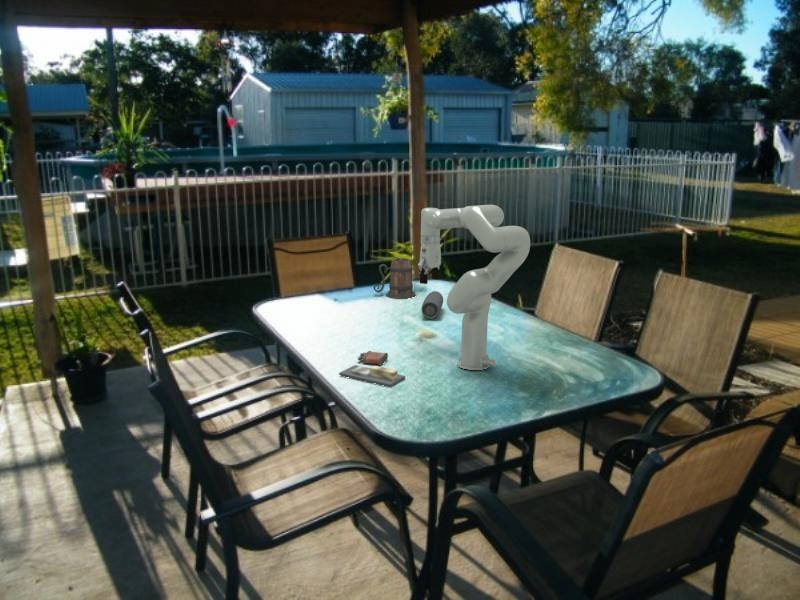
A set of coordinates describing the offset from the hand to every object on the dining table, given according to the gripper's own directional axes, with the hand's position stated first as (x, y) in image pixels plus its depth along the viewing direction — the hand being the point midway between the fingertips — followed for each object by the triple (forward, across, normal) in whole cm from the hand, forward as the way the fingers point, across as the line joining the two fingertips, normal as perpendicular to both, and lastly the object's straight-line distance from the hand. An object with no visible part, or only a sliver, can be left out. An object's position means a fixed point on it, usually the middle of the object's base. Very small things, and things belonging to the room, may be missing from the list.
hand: (429, 281), depth 270 cm
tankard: (+29, +71, +59) cm, 97 cm away
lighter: (+27, -25, +5) cm, 37 cm away
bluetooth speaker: (+29, +47, +23) cm, 60 cm away
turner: (+27, -41, -1) cm, 49 cm away
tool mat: (+28, -41, +1) cm, 50 cm away
